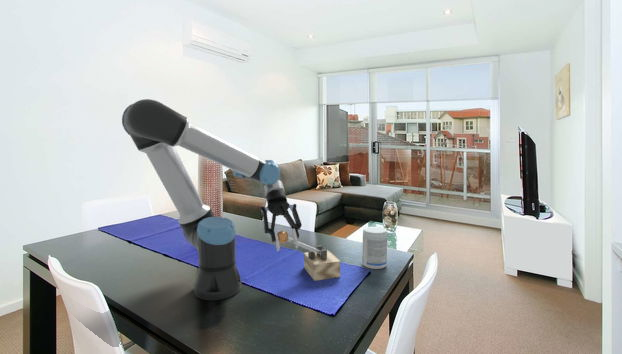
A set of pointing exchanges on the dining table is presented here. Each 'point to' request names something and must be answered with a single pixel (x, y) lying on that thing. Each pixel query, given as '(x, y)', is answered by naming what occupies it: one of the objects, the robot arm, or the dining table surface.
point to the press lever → (284, 238)
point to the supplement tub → (374, 247)
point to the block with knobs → (321, 264)
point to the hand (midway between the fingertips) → (287, 247)
